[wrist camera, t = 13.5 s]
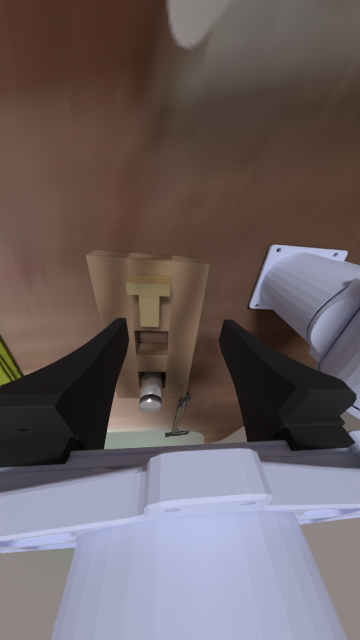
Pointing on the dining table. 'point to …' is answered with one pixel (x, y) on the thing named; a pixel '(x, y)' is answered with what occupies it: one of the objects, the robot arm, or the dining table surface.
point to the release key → (148, 296)
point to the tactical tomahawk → (179, 418)
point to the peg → (151, 392)
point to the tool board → (175, 318)
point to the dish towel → (7, 365)
